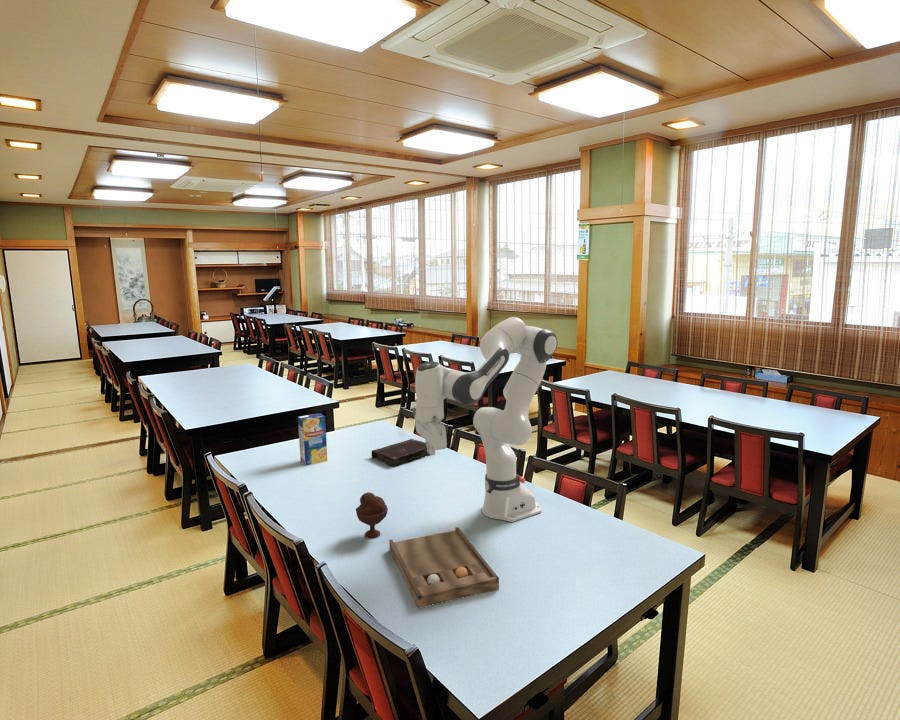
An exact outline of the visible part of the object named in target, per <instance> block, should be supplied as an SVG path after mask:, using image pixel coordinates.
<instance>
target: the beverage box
mask: <svg viewBox="0 0 900 720" xmlns="http://www.w3.org/2000/svg"><path fill="white" fill-rule="evenodd" d="M297 423H298V425H297V427H298V440H299V443H298V444H299V456H300V458H299V459H300V462H301V463H302V464H303V465H304V466H311V465H314V464H319V463H324V462H328V447H327V445H328V444H327V427H326V426H327V425H326V416H325V415H324V414H322V413H320V412H318V413H314V414H307V415H302V416H301V415H300V416H297Z"/></svg>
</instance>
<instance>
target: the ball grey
mask: <svg viewBox="0 0 900 720" xmlns="http://www.w3.org/2000/svg"><path fill="white" fill-rule="evenodd" d="M435 583H440V579H439V577H438V576H437V575H436V574H431V575H430V576H429V577H428V579H427V584H428V585H431V584H435Z"/></svg>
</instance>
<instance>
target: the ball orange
mask: <svg viewBox="0 0 900 720" xmlns="http://www.w3.org/2000/svg"><path fill="white" fill-rule="evenodd" d="M466 576H469V575H468V572H467V569H466V568H464V567H459V568H458V569H457V570H456V577H457V578H462V577H466Z"/></svg>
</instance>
